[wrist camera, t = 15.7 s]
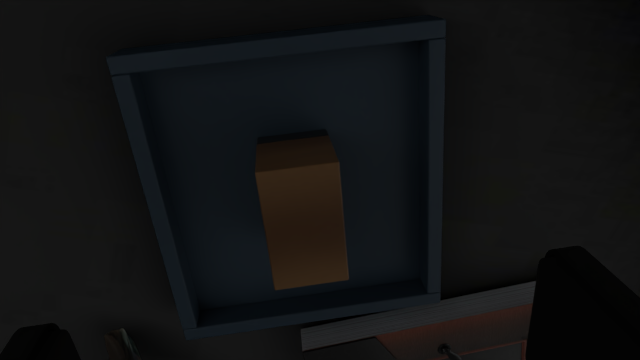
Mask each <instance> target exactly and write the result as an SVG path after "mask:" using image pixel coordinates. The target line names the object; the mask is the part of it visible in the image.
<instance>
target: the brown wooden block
mask: <svg viewBox="0 0 640 360" xmlns="http://www.w3.org/2000/svg"><path fill="white" fill-rule="evenodd" d="M255 177H256V183H257V189H258V195H259V201H260V207H261V213H262V219H263V225H264V231H265V237H266V243H267V249H268V254H269V260H270V266H271V272H272V278H273V284H274V289H275V290H282V289H289V288H295V287H302V286H309V285H316V284H323V283H330V282H337V281H344V280H349V272H348V260H347V248H346V236H345V224H344V212H343V200H342V188H341V176H340V164H339V160H338V158H337V155H336V153H335V150H334V148H333V145H332V142H331V140H330V137H329V135H328V132H327V130H326V129H322V130H314V131H306V132H298V133H290V134H282V135H274V136H266V137H258V138H257V146H256V163H255Z"/></svg>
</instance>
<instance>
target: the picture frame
mask: <svg viewBox="0 0 640 360" xmlns="http://www.w3.org/2000/svg"><path fill="white" fill-rule="evenodd" d="M535 285H536V281H532V282H528V283H523V284H518V285H513V286H508V287H503V288H498V289H493V290H489V291H484V292H479V293H474V294H469V295H464V296H459V297H454V298H450V299H445V300H440V303H435V304H428V305H422V306H415V307H408V308H402V309H396V310H391V311H386V312H381V313H376V314H372V315H366V316H362V317H357V318H352V319H347V320H342V321H337V322H332V323H327V324H322V325H318V326H313V327H308V328H303V329H300V330H301V341H302V351H303V355H304V360H526V357H525V353H526V346H527V339H528V332H529V325H530V319H531V312H532V305H533V298H534V291H535Z"/></svg>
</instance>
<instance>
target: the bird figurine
mask: <svg viewBox="0 0 640 360" xmlns="http://www.w3.org/2000/svg"><path fill="white" fill-rule="evenodd" d="M104 338H105V343H106V349H107V352H108V354H109V360H142V359H141V357H140V354H139V351H138V350H137V347H136V344H135V342H134V341H133V339H132V338H131V337H130V336H129V335H128V334H127V333H126V331H125V330H124V329H123V328H121V329H119V330H113V331H110V332H109V333H107V334H105V335H104Z"/></svg>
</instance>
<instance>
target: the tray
mask: <svg viewBox="0 0 640 360" xmlns="http://www.w3.org/2000/svg"><path fill="white" fill-rule="evenodd" d="M445 36H446V20H445V19H443V18H439V17H435V16H431V15H423V16H414V17H405V18H396V19H387V20H378V21H369V22H360V23H351V24H342V25H333V26H324V27H315V28H306V29H297V30H288V31H279V32H270V33H261V34H252V35H243V36H234V37H225V38H216V39H207V40H198V41H189V42H180V43H171V44H162V45H153V46H144V47H135V48H126V49H121V50H119V51H117V52H115V53H113V54H111V55H109V56H107V57H106V61H107V64H108V68H109V71H110V74H111V75H113V76H112V77H111V78H112V82H113V85H114V89H115V92H116V96H117V99H118V103H119V106H120V110H121V113H122V117H123V120H124V124H125V128H126V131H127V135H128V138H129V142H130V145H131V149H132V152H133V156H134V159H135V163H136V166H137V170H138V173H139V177H140V180H141V184H142V187H143V191H144V194H145V198H146V201H147V205H148V208H149V212H150V216H151V219H152V223H153V226H154V230H155V233H156V237H157V240H158V244H159V247H160V251H161V254H162V258H163V261H164V265H165V268H166V272H167V275H168V279H169V282H170V286H171V289H172V293H173V297H174V300H175V304H176V307H177V311H178V314H179V318H180V321H181V325H182V328H183V331H184V335H185V339H186V340H193V339H200V338H206V337H213V336H220V335H227V334H233V333H240V332H247V331H254V330H260V329H267V328H274V327H280V326H287V325H294V324H301V323H307V322H314V321H321V320H328V319H334V318H341V317H348V316H354V315H361V314H368V313H375V312H381V311H388V310H395V309H402V308H408V307H415V306H422V305H428V304H435V303H440V294H441V292H440V291H441V246H442V196H443V145H444V95H445V45H446V39H445V38H444V37H445ZM322 129H326V130H327V132H328V135H329V137H330V140H331V142H332V145H333V148H334V150H335V153H336V155H337V158H338V160H339V164H340V176H341V188H342V200H343V212H344V224H345V236H346V248H347V260H348V272H349V280H344V281H337V282H330V283H323V284H316V285H309V286H302V287H295V288H289V289H282V290H275V289H274V284H273V278H272V272H271V266H270V260H269V254H268V249H267V243H266V237H265V231H264V225H263V219H262V213H261V207H260V201H259V195H258V189H257V183H256V177H255V163H256V146H257V138H258V137H266V136H274V135H282V134H290V133H298V132H306V131H314V130H322Z"/></svg>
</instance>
